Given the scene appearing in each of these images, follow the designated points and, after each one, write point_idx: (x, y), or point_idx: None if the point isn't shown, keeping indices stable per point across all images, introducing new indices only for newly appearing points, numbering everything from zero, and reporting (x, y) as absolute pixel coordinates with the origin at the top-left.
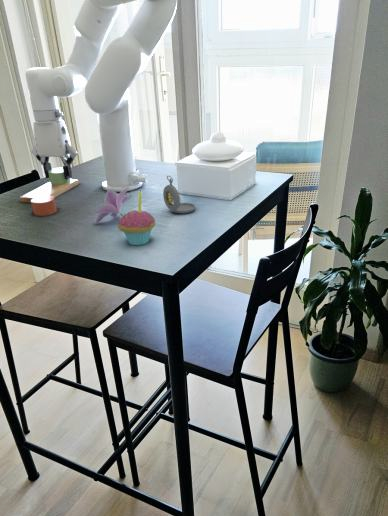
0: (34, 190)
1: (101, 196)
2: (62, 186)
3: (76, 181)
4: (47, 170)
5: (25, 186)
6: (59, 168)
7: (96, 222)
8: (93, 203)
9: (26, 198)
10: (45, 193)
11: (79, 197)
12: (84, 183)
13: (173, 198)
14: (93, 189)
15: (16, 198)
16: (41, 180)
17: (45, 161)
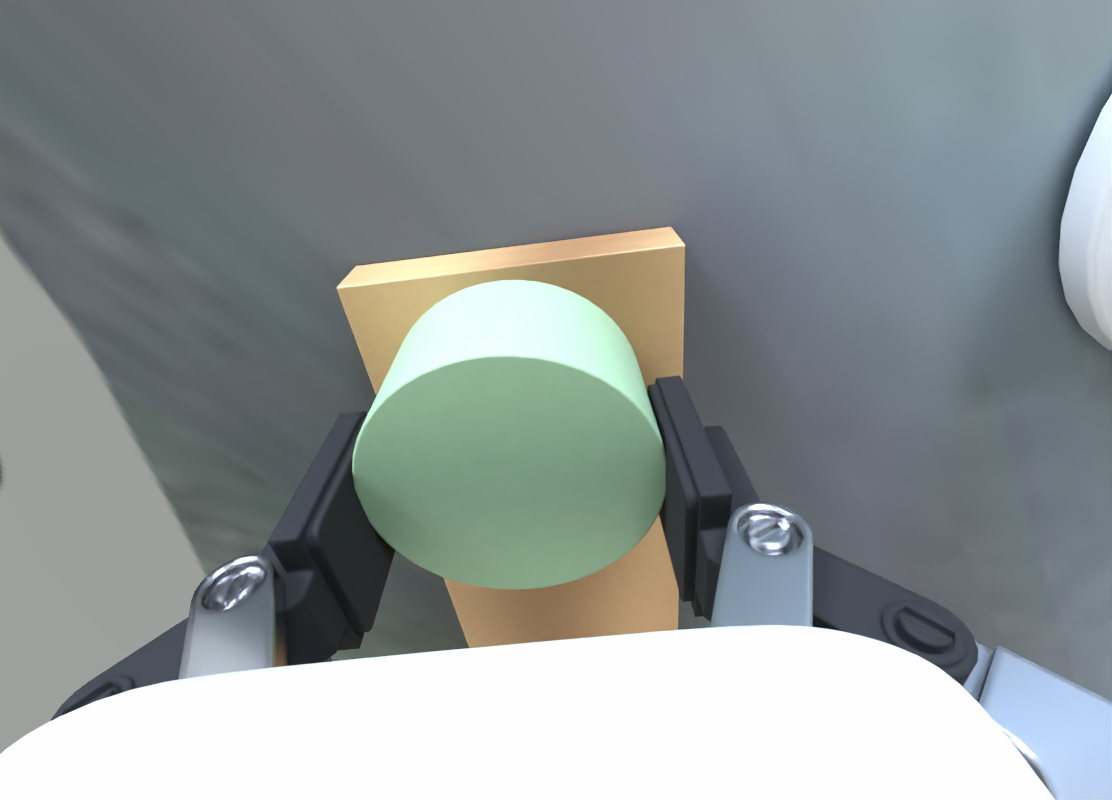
0: (477, 627)
1: (1072, 472)
2: None
3: (680, 282)
4: (381, 555)
5: (152, 468)
6: (452, 421)
7: None
8: (1025, 588)
9: None
10: None
11: (870, 535)
12: (731, 166)
13: None
14: (941, 338)
15: (402, 654)
16: (45, 242)
17: (302, 652)
